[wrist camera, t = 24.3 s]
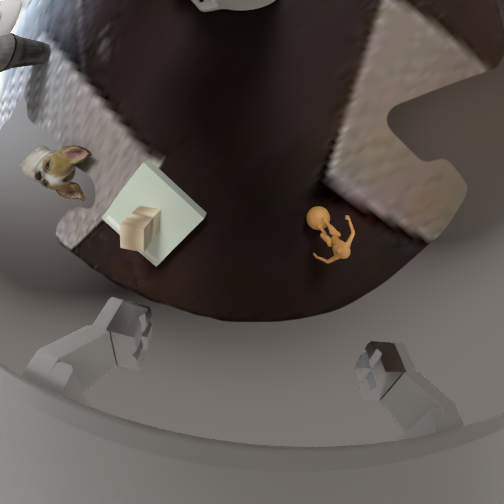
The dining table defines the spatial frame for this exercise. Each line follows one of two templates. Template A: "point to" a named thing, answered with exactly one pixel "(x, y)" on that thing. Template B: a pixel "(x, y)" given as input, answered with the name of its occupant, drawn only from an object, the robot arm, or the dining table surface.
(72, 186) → the ceramic sculpture
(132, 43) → the dining table surface
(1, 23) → the candlestick
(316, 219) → the figurine
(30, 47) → the beverage cup
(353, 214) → the dining table surface
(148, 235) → the tan block
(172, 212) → the sage board
